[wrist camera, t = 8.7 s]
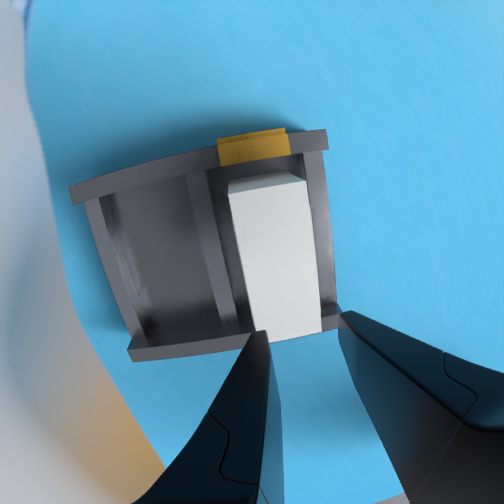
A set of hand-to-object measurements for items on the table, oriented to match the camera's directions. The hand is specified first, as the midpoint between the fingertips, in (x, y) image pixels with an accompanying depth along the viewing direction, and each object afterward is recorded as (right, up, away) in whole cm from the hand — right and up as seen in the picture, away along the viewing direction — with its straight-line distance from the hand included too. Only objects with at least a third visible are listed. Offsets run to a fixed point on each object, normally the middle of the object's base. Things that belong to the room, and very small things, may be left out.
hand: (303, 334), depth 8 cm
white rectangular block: (-1, +3, +9) cm, 9 cm away
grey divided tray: (-4, +3, +9) cm, 10 cm away
